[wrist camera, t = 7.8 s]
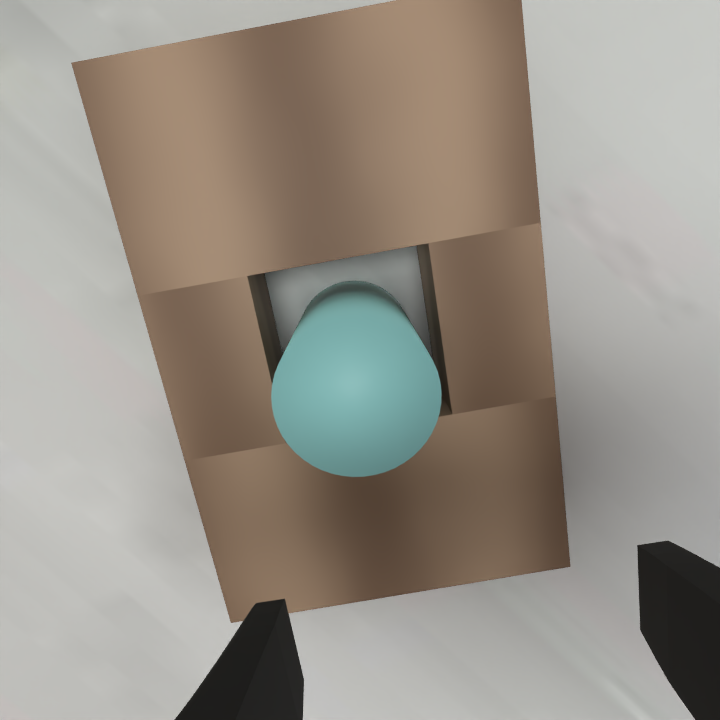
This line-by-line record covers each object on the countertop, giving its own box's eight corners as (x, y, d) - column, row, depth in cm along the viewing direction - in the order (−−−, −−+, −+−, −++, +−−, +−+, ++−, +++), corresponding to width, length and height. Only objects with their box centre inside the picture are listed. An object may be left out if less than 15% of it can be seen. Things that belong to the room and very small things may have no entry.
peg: (397, 270, 19) (424, 297, 12) (418, 376, 20) (455, 458, 13) (286, 294, 19) (251, 336, 12) (313, 399, 20) (294, 491, 13)
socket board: (489, 18, 17) (519, -24, 14) (539, 519, 21) (570, 566, 18) (118, 89, 17) (71, 62, 14) (246, 568, 22) (231, 622, 19)
